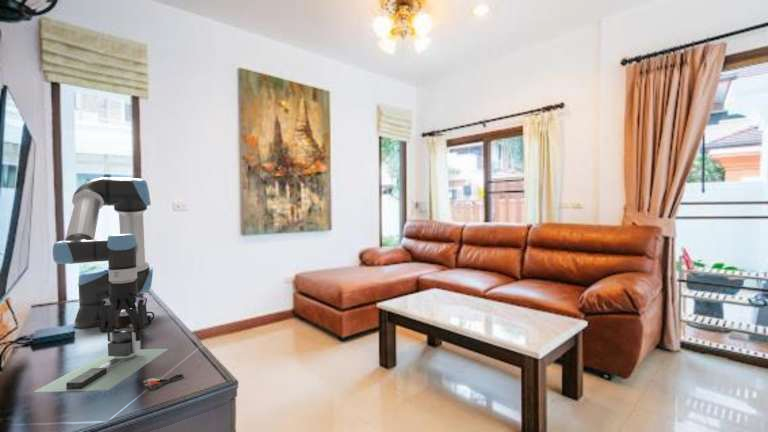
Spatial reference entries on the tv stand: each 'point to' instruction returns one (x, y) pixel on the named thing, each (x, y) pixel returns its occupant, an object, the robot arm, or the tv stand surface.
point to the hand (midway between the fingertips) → (125, 350)
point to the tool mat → (108, 379)
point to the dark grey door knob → (122, 343)
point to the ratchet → (97, 372)
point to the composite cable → (161, 381)
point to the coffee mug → (127, 320)
